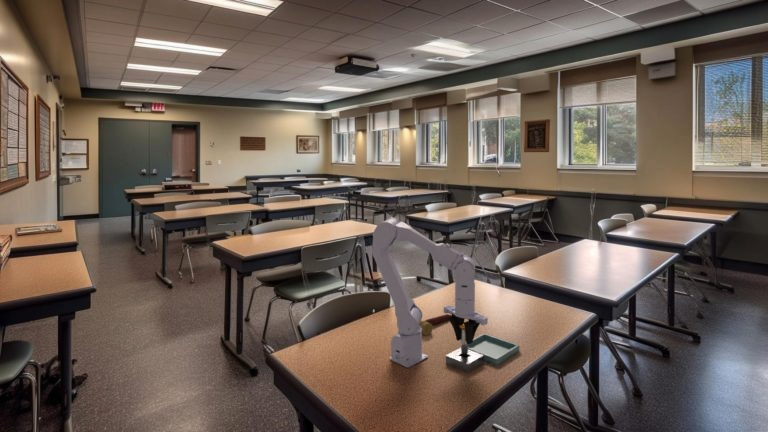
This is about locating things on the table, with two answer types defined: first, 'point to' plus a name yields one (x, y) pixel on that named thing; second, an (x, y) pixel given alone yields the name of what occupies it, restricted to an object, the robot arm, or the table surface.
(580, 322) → the table surface
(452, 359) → the block
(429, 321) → the gavel
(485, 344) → the tray
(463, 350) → the steel pin
